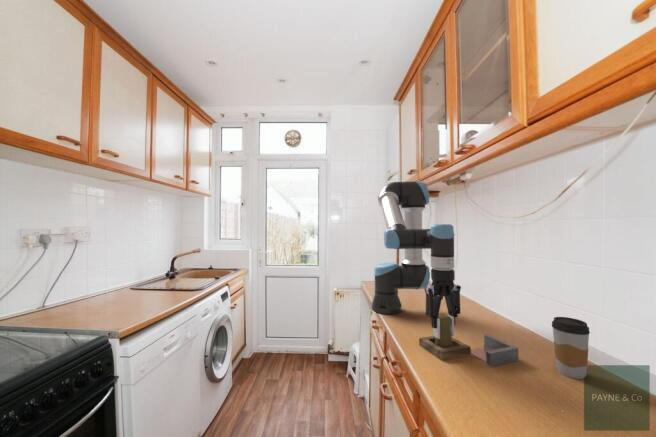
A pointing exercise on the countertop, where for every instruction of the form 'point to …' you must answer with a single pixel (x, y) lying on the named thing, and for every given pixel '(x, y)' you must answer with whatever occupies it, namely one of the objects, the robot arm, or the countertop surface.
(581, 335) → the coffee cup
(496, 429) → the countertop surface
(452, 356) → the socket block
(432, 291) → the robot arm
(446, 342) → the olive stamp handle
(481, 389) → the countertop surface
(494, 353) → the corner cradle
